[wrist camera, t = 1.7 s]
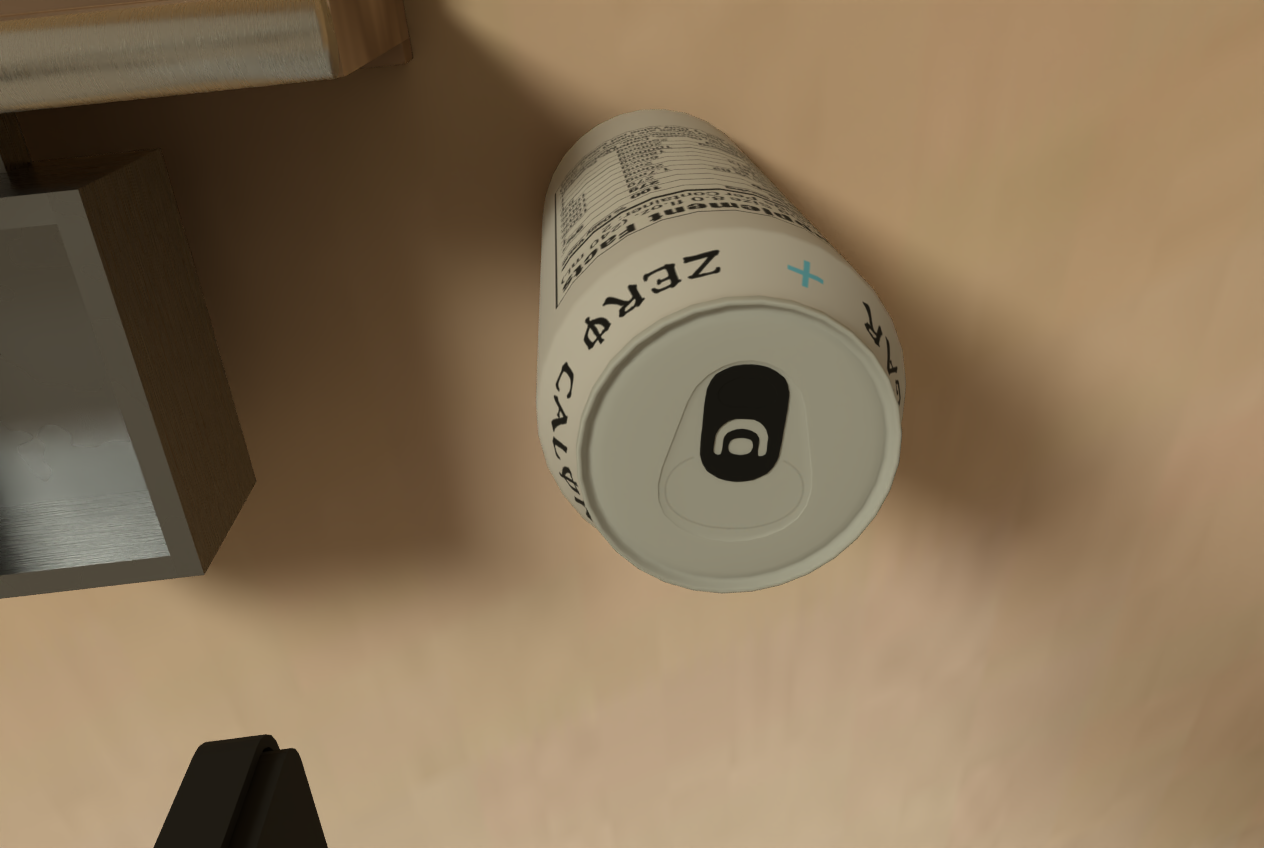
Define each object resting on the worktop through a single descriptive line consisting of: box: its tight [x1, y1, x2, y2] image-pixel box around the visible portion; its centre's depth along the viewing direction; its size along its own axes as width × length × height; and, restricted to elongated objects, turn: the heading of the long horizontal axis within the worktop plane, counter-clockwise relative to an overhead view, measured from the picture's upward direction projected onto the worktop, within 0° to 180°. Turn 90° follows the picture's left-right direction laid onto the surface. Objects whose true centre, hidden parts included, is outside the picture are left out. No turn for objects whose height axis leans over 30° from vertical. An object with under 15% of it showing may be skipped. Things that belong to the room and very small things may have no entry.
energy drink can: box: [536, 109, 906, 593], centre depth 22 cm, size 6×6×15 cm
